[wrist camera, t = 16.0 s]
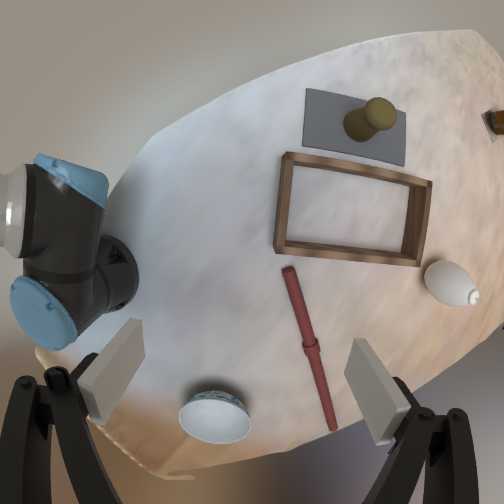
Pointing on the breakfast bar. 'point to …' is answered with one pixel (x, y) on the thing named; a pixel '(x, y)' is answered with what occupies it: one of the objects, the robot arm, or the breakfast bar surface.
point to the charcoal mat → (334, 136)
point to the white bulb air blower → (451, 284)
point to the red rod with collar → (310, 344)
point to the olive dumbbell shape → (370, 119)
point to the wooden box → (407, 257)
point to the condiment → (494, 123)
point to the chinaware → (215, 417)
